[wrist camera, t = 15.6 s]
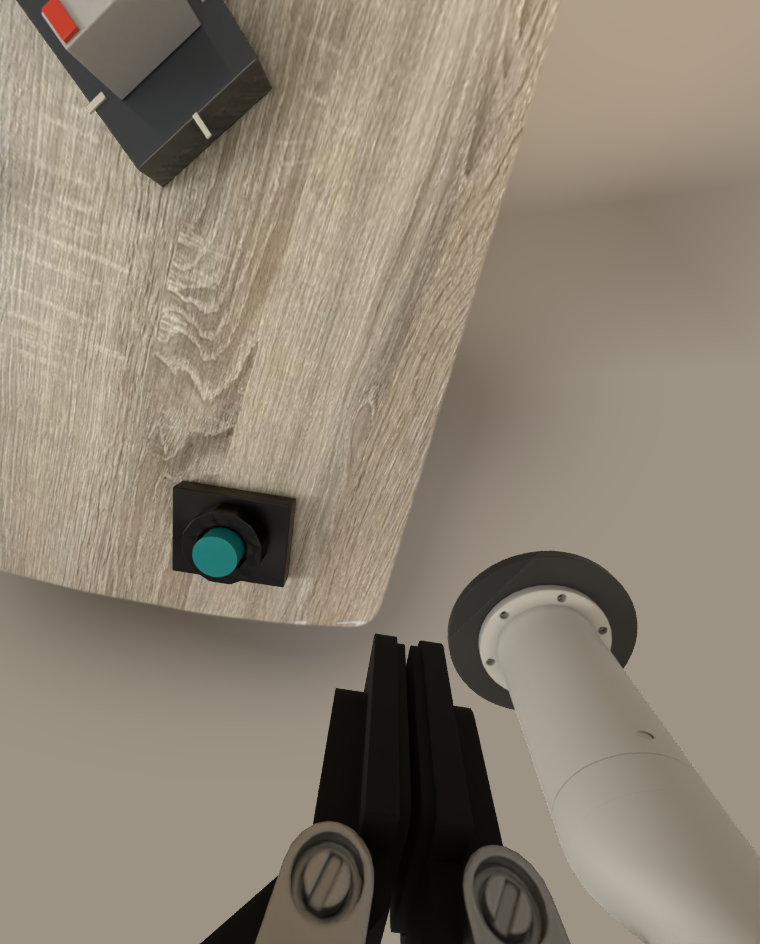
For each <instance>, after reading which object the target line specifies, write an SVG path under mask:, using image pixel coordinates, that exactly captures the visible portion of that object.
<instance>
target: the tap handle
mask: <svg viewBox="0 0 760 944" xmlns="http://www.w3.org/2000/svg"><path fill="white" fill-rule="evenodd" d="M41 10H42V13H41V14H42V16H43V17H44V19H45V20H46V22H47V23H48V25H49V26H50V27H51V29H52V30H53V32H54V33H55V35H56V36H57V38H58V39H59V40H60V42H61V43H62V45H63V46H64V48H65V49H66V50H67V51H68V52H69V53H70V54H71V55H72V56H73V57H75V58H76V59H77V60H78V61H79V62H80V63H81V64H82V65H83V66H84V67H86V68H87V69H88V70H89V71H90V72H91V73H92V74H93V75H94V76H95V77H96V78H98V79H99V80H100V81H101V82H102V83H103V84H104V85H105V86H106V87H107V88H109V89H110V90H111V91H112V92H113V93H114V94H115V95H116V96H117V97H118V98H120V99H121V100H123V99H124V98H125V97H126V96H127V95H128V94H129V93H130V92H131V91H132V90H133V89H134V88H135V87H137V86H138V85H139V84H140V83H141V82H142V81H143V80H144V79H145V78H146V77H147V76H148V75H149V74H150V73H151V72H152V71H153V70H154V69H155V68H156V67H158V66H159V65H160V64H161V63H162V62H163V61H164V60H165V59H166V58H167V57H168V56H169V55H170V54H171V53H172V52H173V51H174V50H175V49H176V48H177V47H178V46H180V45H181V44H182V43H183V42H184V41H185V40H186V39H187V38H188V37H189V36H190V35H191V34H192V33H193V32H194V31H195V30H196V29H197V28H198V27H199V26H200V25H201V23H200V21H199V20H198V18H197V16H196V14H195V13H194V11H193V9H192V8H191V6H190V4H189V3H188V1H187V0H49V1H48V2H47V3H46V4H45V5H44V6H43V8H42V9H41Z"/></svg>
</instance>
